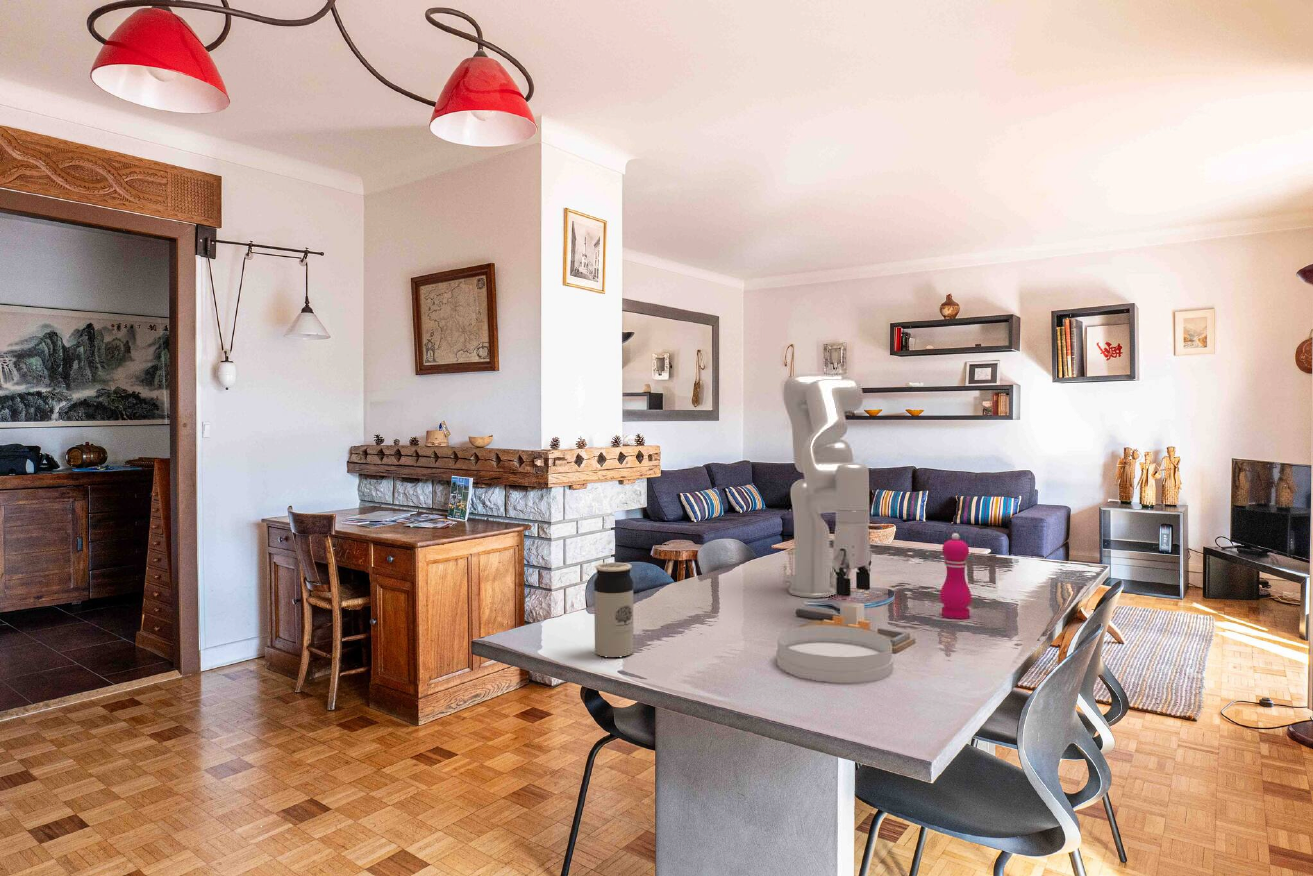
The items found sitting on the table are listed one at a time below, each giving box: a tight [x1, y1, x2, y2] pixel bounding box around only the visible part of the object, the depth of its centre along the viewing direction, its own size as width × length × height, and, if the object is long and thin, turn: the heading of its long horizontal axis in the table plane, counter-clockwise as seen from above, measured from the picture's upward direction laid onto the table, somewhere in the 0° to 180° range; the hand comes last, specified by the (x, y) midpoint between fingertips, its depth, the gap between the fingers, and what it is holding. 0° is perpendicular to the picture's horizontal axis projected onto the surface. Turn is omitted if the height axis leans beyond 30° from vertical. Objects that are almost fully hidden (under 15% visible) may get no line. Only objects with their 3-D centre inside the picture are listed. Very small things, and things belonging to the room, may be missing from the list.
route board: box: [794, 619, 916, 654], centre depth 167 cm, size 24×10×1 cm, turn 49°
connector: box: [795, 601, 865, 626], centre depth 181 cm, size 17×4×5 cm, turn 49°
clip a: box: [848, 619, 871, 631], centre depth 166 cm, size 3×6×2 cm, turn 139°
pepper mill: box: [939, 533, 973, 620], centre depth 185 cm, size 7×7×20 cm
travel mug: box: [593, 562, 635, 657], centre depth 157 cm, size 8×8×18 cm
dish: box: [776, 625, 894, 684], centre depth 149 cm, size 22×22×5 cm
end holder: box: [877, 627, 911, 646], centre depth 162 cm, size 7×8×1 cm
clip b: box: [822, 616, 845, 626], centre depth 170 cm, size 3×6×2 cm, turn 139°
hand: (853, 592), depth 176 cm, fingers open, 9 cm apart
